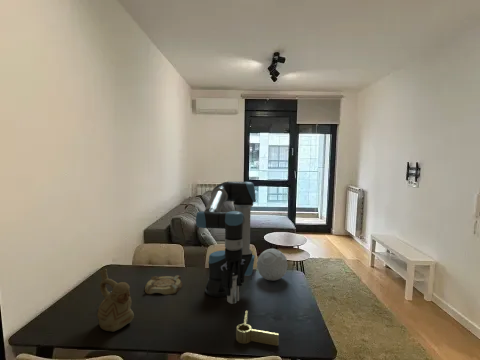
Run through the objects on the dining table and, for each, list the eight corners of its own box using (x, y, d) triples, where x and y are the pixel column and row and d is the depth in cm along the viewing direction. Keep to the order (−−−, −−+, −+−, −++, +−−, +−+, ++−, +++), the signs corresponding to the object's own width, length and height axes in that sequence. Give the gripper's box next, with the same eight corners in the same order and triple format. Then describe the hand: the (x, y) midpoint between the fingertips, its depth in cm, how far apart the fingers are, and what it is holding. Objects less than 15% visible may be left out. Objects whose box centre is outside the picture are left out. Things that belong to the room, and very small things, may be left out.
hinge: (228, 339, 131) (228, 328, 131) (245, 319, 147) (246, 309, 146) (273, 353, 122) (273, 341, 122) (286, 330, 138) (286, 320, 137)
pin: (226, 301, 131) (226, 274, 130) (233, 299, 134) (233, 272, 133) (232, 305, 128) (232, 277, 127) (239, 302, 131) (239, 275, 130)
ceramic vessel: (112, 340, 130) (110, 283, 128) (85, 326, 140) (84, 273, 138) (143, 321, 144) (143, 271, 142) (117, 310, 154) (116, 262, 152)
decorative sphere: (293, 255, 202) (286, 248, 186) (286, 286, 195) (278, 281, 179) (266, 250, 211) (257, 242, 195) (259, 278, 204) (249, 273, 188)
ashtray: (170, 299, 167) (170, 290, 167) (135, 292, 175) (135, 284, 174) (191, 282, 190) (191, 274, 189) (158, 277, 197) (158, 269, 197)
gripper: (224, 253, 121) (223, 310, 123) (253, 246, 131) (252, 298, 133) (213, 249, 127) (213, 303, 128) (241, 242, 137) (241, 292, 139)
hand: (233, 300), depth 131 cm, fingers closed on pin, 3 cm apart
